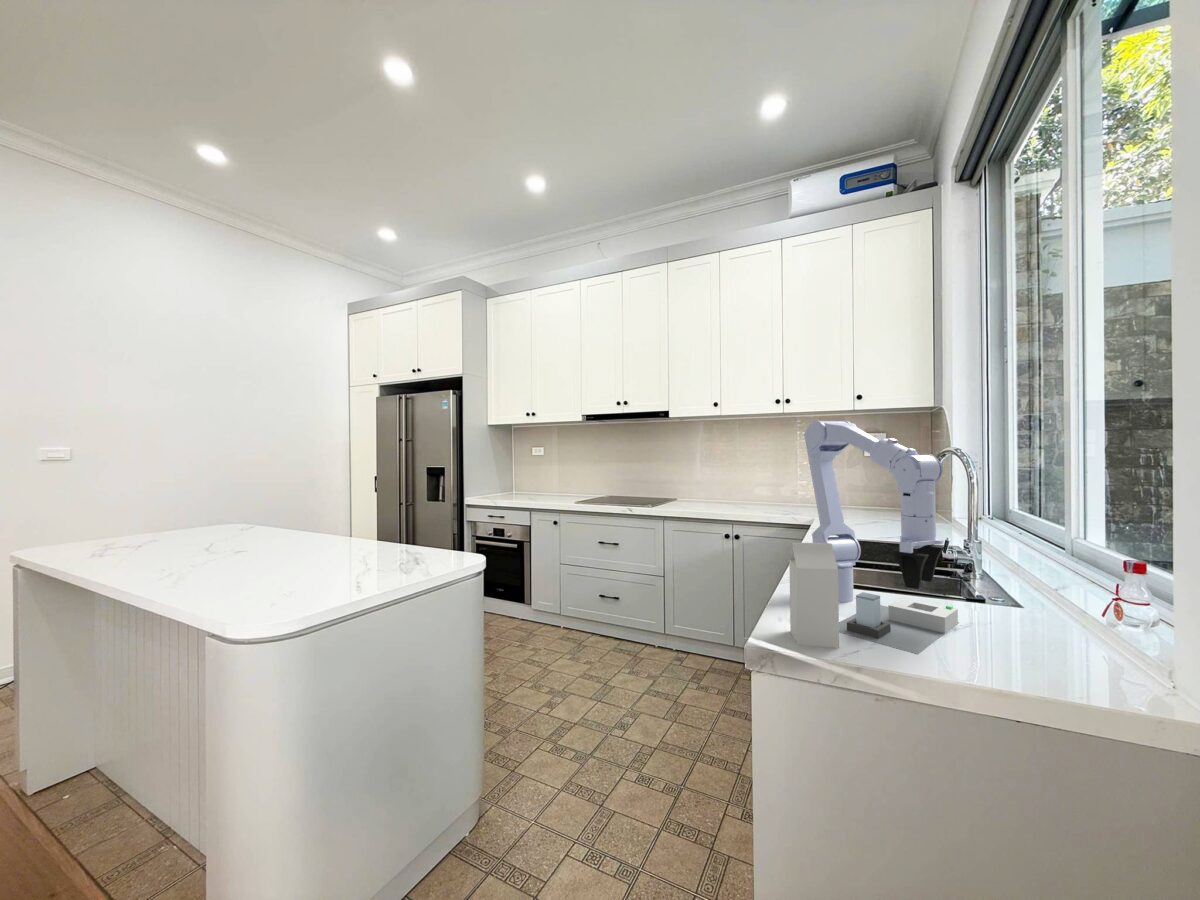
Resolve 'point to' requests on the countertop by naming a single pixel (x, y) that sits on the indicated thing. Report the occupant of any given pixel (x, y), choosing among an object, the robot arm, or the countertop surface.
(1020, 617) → the countertop surface
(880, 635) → the panel
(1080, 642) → the countertop surface
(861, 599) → the plug
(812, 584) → the milk carton
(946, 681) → the countertop surface
